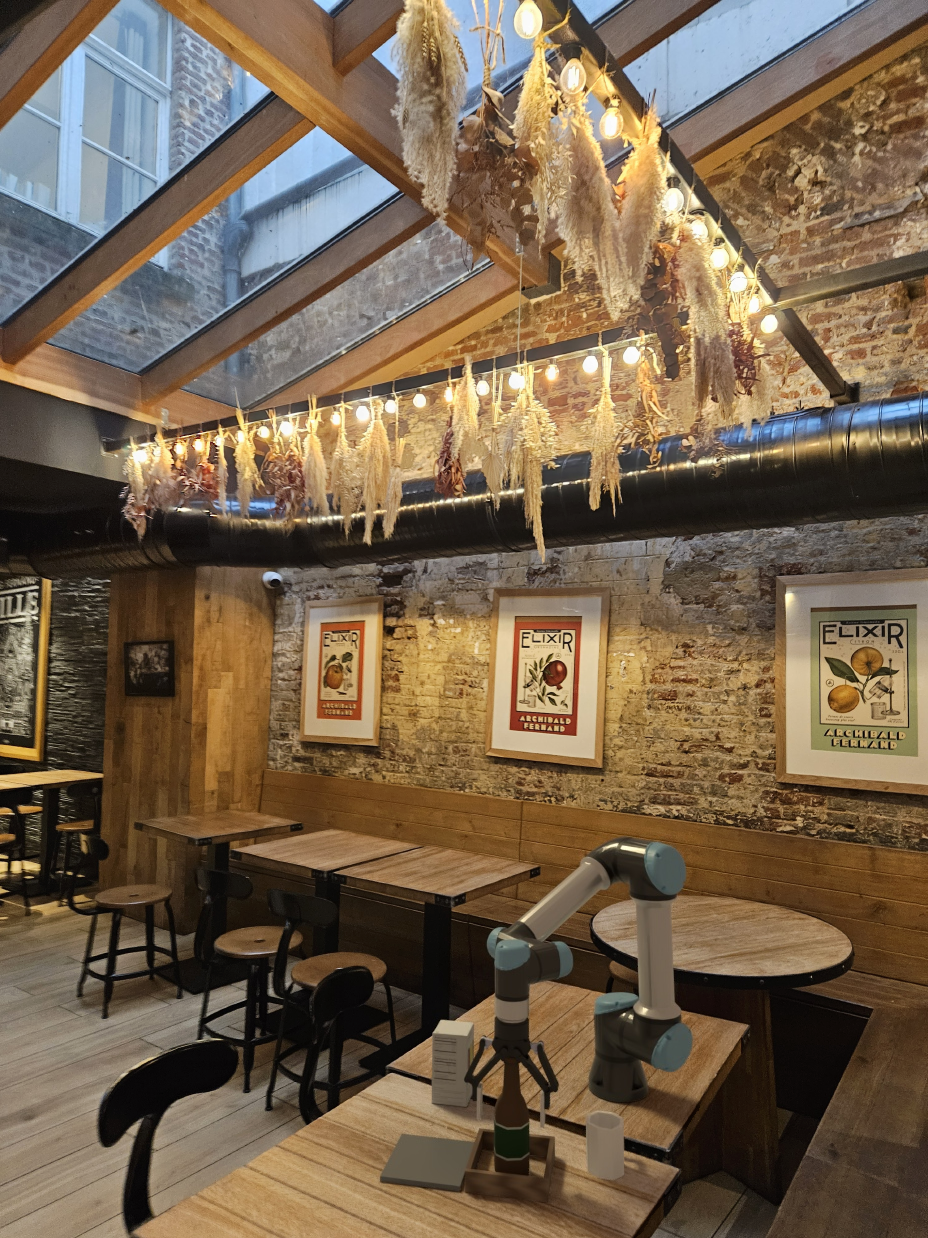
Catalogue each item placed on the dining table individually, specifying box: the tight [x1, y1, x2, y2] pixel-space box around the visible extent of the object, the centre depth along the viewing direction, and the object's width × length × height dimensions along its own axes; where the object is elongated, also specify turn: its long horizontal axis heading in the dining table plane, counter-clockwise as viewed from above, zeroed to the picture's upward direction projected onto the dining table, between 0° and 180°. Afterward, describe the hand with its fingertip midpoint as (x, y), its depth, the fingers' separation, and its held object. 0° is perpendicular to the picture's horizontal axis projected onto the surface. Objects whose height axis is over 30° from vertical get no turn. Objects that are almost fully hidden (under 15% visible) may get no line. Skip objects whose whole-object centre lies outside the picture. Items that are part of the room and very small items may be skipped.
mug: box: [585, 1109, 625, 1181], centre depth 175 cm, size 12×9×10 cm
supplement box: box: [431, 1019, 475, 1108], centre depth 204 cm, size 10×9×17 cm
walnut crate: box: [464, 1127, 556, 1203], centre depth 171 cm, size 17×17×4 cm
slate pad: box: [379, 1133, 475, 1192], centre depth 174 cm, size 17×17×1 cm
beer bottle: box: [493, 1057, 531, 1176], centre depth 172 cm, size 8×8×24 cm
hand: (510, 1121), depth 172 cm, fingers open, 13 cm apart
